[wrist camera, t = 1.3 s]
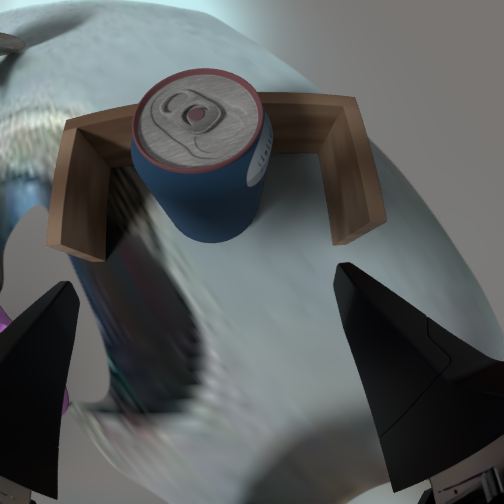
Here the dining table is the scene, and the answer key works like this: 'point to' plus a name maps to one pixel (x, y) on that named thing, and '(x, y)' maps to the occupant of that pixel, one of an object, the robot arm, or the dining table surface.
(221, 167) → the soda can
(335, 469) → the dining table surface
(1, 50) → the disc
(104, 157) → the wooden u-shaped frame
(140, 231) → the dining table surface
